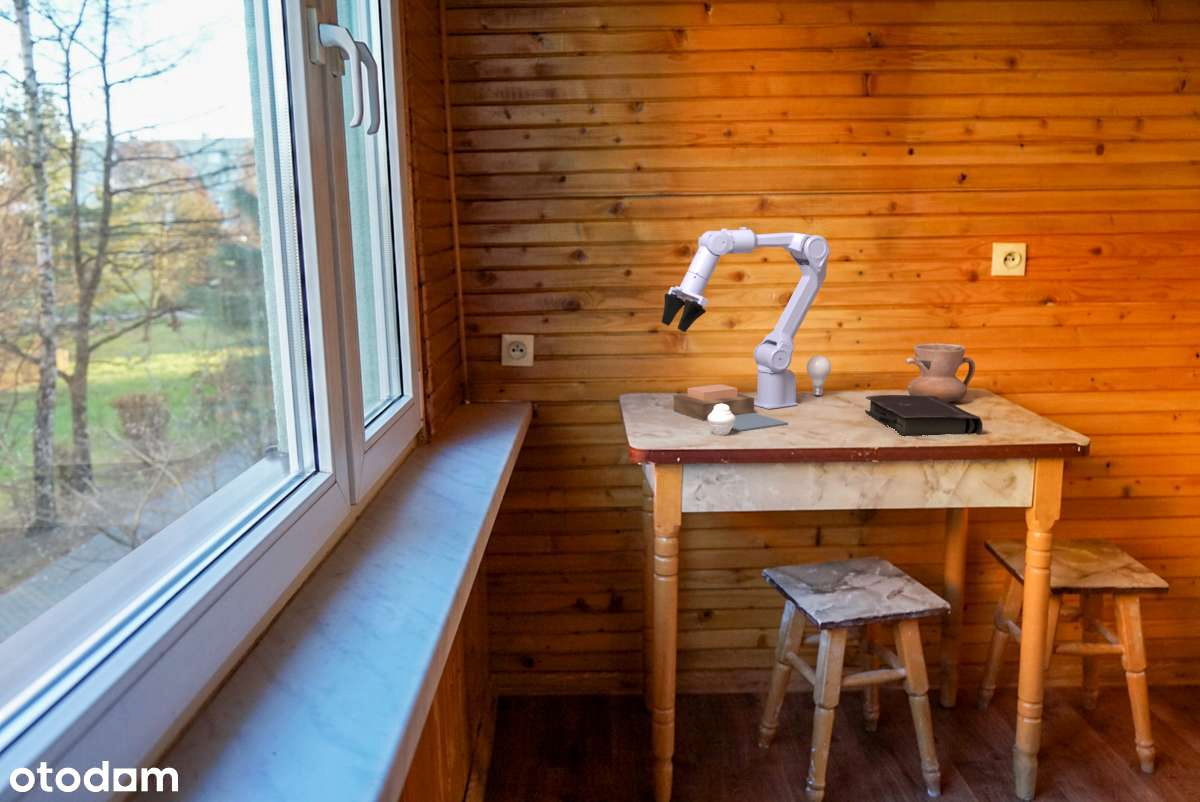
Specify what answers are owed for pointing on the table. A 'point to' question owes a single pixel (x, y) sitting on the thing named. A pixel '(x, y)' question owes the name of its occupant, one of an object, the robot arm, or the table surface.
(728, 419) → the muffin
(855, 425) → the table surface
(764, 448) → the table surface
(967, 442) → the table surface
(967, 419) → the diary
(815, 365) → the lightbulb
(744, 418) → the mat
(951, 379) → the ceramic jug
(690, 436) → the table surface
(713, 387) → the block
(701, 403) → the board
